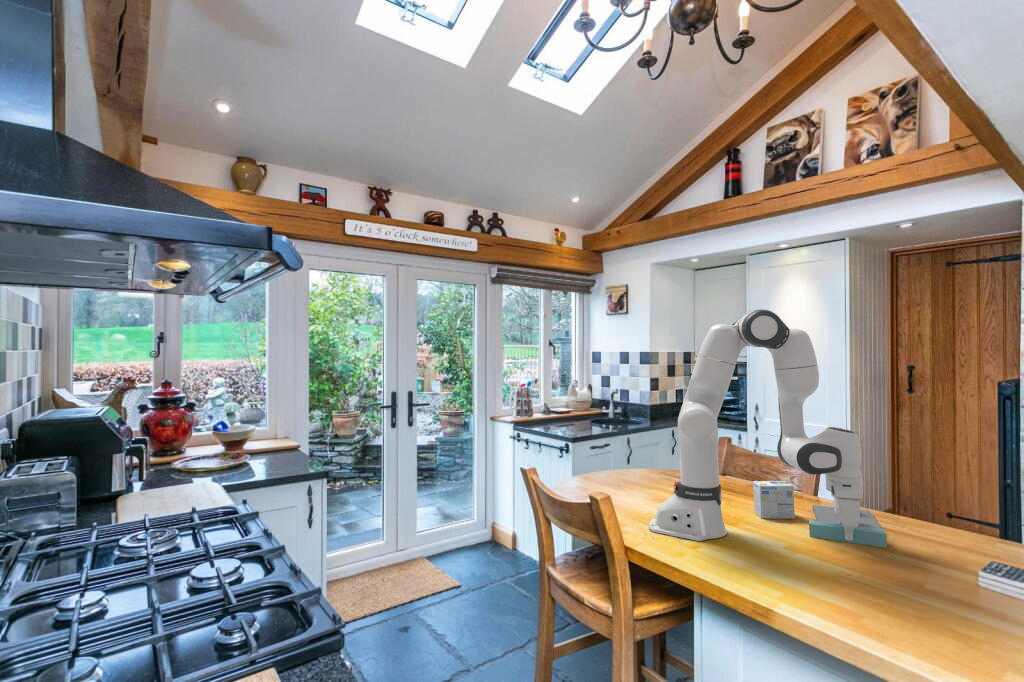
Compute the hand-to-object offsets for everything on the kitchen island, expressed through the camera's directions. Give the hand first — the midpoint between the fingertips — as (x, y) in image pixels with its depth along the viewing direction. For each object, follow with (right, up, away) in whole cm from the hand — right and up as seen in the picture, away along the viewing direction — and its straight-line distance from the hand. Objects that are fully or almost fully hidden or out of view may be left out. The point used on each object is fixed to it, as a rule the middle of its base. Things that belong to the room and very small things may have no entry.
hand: (846, 533), depth 142 cm
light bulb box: (-9, -3, +22) cm, 24 cm away
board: (+10, -2, +15) cm, 18 cm away
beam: (0, -2, 0) cm, 2 cm away
